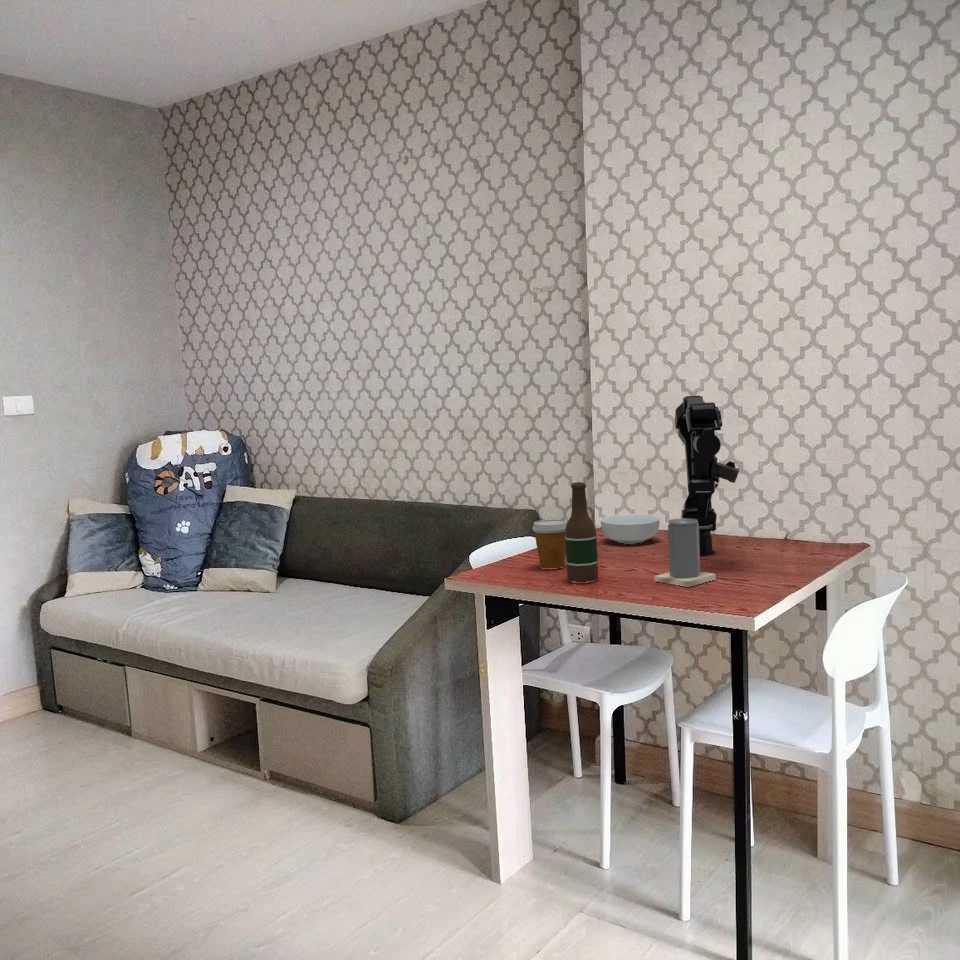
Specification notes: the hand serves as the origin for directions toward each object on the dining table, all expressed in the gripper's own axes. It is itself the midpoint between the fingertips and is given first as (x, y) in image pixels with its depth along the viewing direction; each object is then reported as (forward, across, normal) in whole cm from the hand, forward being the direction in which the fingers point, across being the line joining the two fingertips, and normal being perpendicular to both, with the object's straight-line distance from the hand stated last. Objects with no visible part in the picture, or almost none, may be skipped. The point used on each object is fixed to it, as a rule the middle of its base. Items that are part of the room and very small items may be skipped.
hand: (705, 515), depth 237 cm
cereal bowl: (+13, +32, +24) cm, 43 cm away
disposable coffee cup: (+13, -3, +39) cm, 41 cm away
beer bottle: (+13, -18, +28) cm, 36 cm away
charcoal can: (+12, -17, +4) cm, 21 cm away
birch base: (+13, -17, +4) cm, 21 cm away
